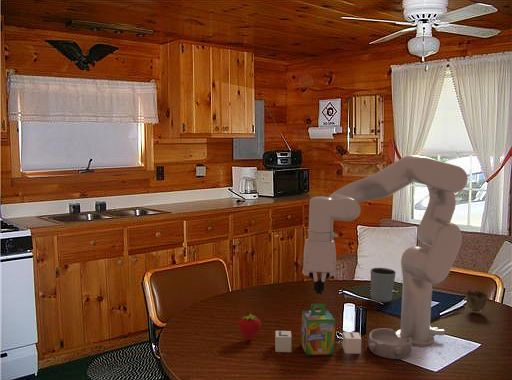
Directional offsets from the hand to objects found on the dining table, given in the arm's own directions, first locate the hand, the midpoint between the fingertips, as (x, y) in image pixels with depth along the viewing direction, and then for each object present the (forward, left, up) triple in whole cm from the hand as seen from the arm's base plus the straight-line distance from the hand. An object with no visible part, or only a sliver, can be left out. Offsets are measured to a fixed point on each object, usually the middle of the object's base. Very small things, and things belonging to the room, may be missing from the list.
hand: (318, 292), depth 165 cm
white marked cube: (+11, 0, -19) cm, 22 cm away
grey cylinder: (-32, -51, -19) cm, 63 cm away
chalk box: (0, 0, -19) cm, 19 cm away
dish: (-23, 0, -19) cm, 30 cm away
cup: (-65, -36, -19) cm, 77 cm away
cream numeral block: (-11, 0, -19) cm, 22 cm away
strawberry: (+22, -6, -19) cm, 30 cm away
